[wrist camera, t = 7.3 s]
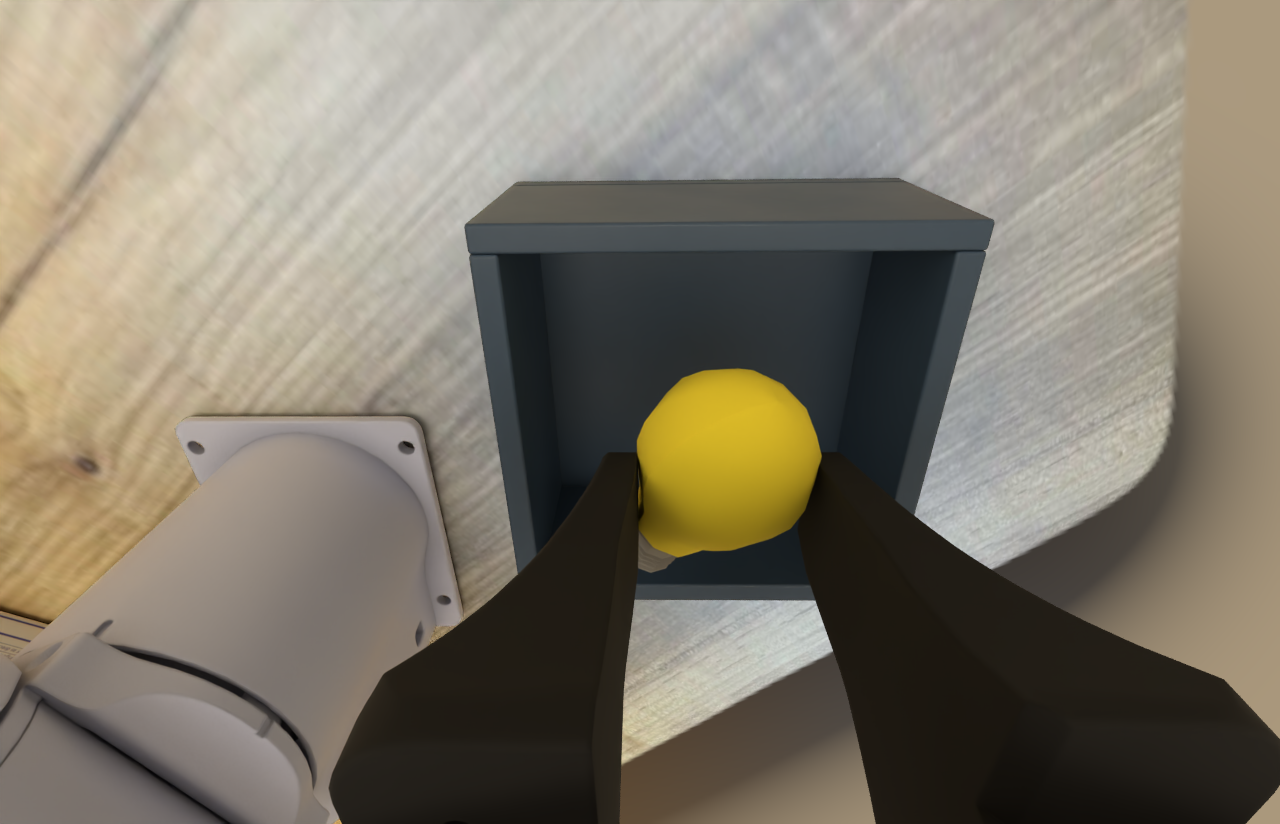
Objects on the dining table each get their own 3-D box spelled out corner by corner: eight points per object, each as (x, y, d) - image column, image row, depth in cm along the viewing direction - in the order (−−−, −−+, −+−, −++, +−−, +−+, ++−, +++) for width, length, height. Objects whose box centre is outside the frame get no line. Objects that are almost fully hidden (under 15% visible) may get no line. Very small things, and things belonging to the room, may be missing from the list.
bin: (840, 488, 21) (891, 602, 16) (548, 488, 21) (521, 599, 17) (900, 177, 16) (997, 219, 11) (515, 181, 16) (462, 224, 12)
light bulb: (821, 348, 12) (888, 500, 10) (686, 497, 16) (713, 627, 14) (675, 310, 11) (716, 476, 9) (568, 483, 15) (577, 624, 13)
